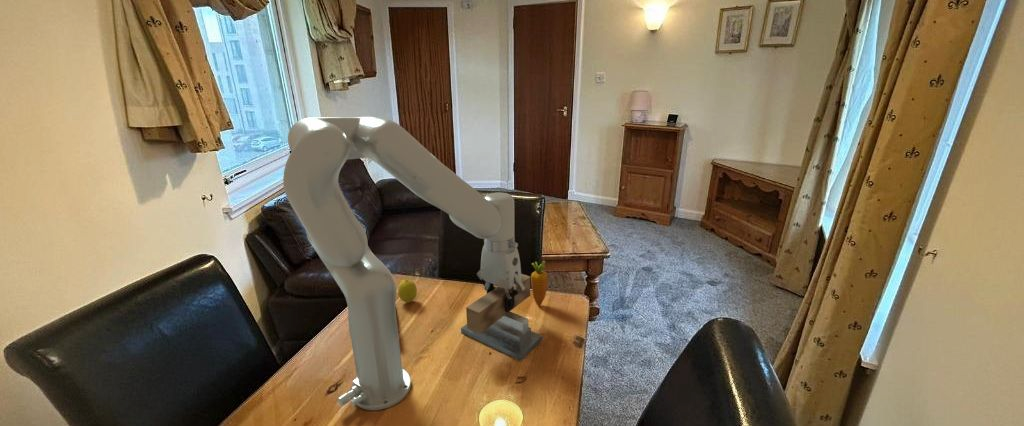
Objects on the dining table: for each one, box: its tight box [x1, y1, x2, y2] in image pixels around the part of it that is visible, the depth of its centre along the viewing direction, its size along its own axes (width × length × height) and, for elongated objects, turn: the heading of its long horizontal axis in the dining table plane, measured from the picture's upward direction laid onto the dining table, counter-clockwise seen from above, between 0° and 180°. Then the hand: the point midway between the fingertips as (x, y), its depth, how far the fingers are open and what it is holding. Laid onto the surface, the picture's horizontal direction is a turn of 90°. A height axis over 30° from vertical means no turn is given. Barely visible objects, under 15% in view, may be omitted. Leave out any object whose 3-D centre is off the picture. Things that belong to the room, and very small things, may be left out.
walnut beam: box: [465, 273, 531, 334], centre depth 106 cm, size 22×4×6 cm, turn 144°
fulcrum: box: [460, 311, 543, 362], centre depth 108 cm, size 10×20×8 cm, turn 54°
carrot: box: [530, 260, 548, 307], centre depth 122 cm, size 5×5×15 cm
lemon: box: [397, 279, 418, 304], centre depth 125 cm, size 6×6×8 cm
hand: (500, 305), depth 106 cm, fingers open, 5 cm apart
